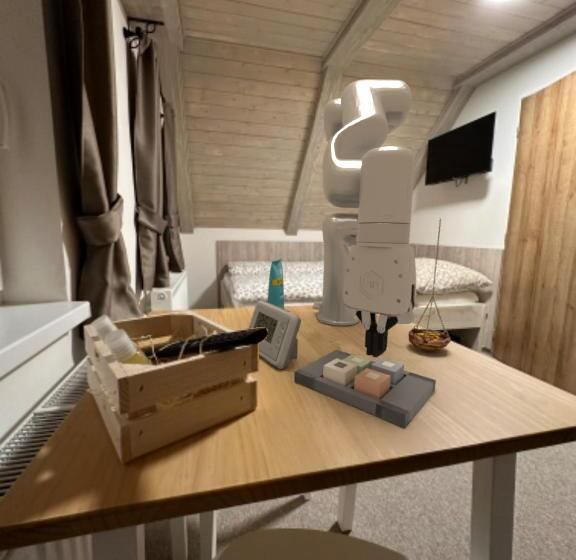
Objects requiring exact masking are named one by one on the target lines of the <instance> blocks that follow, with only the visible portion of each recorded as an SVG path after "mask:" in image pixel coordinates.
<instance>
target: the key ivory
mask: <svg viewBox="0 0 576 560" xmlns="http://www.w3.org/2000/svg"><path fill="white" fill-rule="evenodd" d="M356 375H357V365H356V364H353V363H350V362H347V361H344V360H341V359H337V358H336V359H334V360H333V361H331V362H329V363H327V364H325V365H324V370H323V378H325V379H327V380H330V381H333V382H335V383H338V384H340V385H343V386H347V385H348V384H349V383H351V382H352V381H354V380H355V376H356Z"/></svg>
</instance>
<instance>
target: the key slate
mask: <svg viewBox="0 0 576 560" xmlns="http://www.w3.org/2000/svg"><path fill="white" fill-rule="evenodd" d="M371 370H374V371H377V372H381V373H384V374H387V375H390V376H391V378H390V384H393V385H396V384H397V383H398V382H399V381H400V380H401V379H402V378H403V375H404V370H405V364H404V363H402V362H398V361H396V360H395V361H394V360H391V359H388V358H384V357H380V358H379V359H378V360H376V361H375V363H373V364H372V366H371Z"/></svg>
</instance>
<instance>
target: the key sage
mask: <svg viewBox="0 0 576 560" xmlns="http://www.w3.org/2000/svg"><path fill="white" fill-rule="evenodd" d="M343 360H344V361H347V362H350V363H353V364H356V365H357V372H358V373H360V372H362V371H363V370H365V369H366V368H368V369H371V366H372V361H373V359H371V358H367V357H365V356H360V355H357V354H353V353H352V355H350V356H348V357H347V358H345V359H343Z"/></svg>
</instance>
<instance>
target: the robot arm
mask: <svg viewBox="0 0 576 560" xmlns="http://www.w3.org/2000/svg"><path fill="white" fill-rule="evenodd" d="M412 99H413V98H412V92H411V88H410V87H409V85H408V84H407V83H406V82H405V81H404V80H401V79H375V78H374V79H373V78H372V79H370V78H369V79H367V78H366V79H359V80H355V81H353V82H350V83H349V84H348V85H347V86H346V87H345V88H344V90H343V91H342V93H341V95H340V97H338V98H333V99H331V100H329V101H328V102H326V104H325V106H324V110H323V129H324V135H325V138H326V141H327V144H326V146H325V149H324V153H323V156H322V167H321V168H322V169H321V170H322V189H323V195H324V197H325V199H326V200H327V202H328V203H330V204H331V205H332V206H334V207H336V208H339V209H341V208H342V209H358V212H357V213H356V212H336V213H335V212H334V213H331V214H329V215H326V216H325V217H324V219H323V221H322V224H321V225H322V226H321V231H322V233H321V234H322V241H323V242H322V243H323V276H322V278H323V281H322V299H321V300H322V301H321V302H319V301H314V302H313V305H312V306H311V307H312V310H317V311H318V313H317V314H316V320H317V321H318V322H320V323H322V324H325V325H331V326H340V327H341V326H343V327H345V326H353V325H357V323H359V321H360V323H361V324H362V328H363V330H365V334H364V335H365V337H364V347H365V348H366V351H365V352H366V353H365V354H366V356H369V357H370V356H372V357H373V358H378V357H380V356H382V355H383V354H384V353H385V352H386V351H387V349H388V339H389V338H388V335H389V330H391V329H392V328H393V327H395V326H396V325H409V324H412V323H414V321H415V317H414V316H415V315H414V314H415V313H414V311H413V310H414V309H415V306H416V299H417V270H416V269H417V267H416V260H415V259H416V258H415V251H414V247H413V246H410V236H411V235H410V234H411V233H410V232H411V222H412V208H413V196H414V184H415V183H414V182H415V168H416V158H415V157H416V156H415V154H414V152H413V150H411V149H409V148H407V147H405V146H397V145H394V146H392V145H390V146H389V145H386V146H383V145H384V143H386V140H387V137H388V136H389V135H390V134H392V133H393V132H394V131H396V130H397V129H399V128H400V127H401V126H402V125H403V124H404V123H405V122H406V120H407V119H408V117H409V115H410V111H411V108H412V107H411V106H412ZM349 248H350V249H349ZM378 317H379V318H378Z"/></svg>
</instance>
